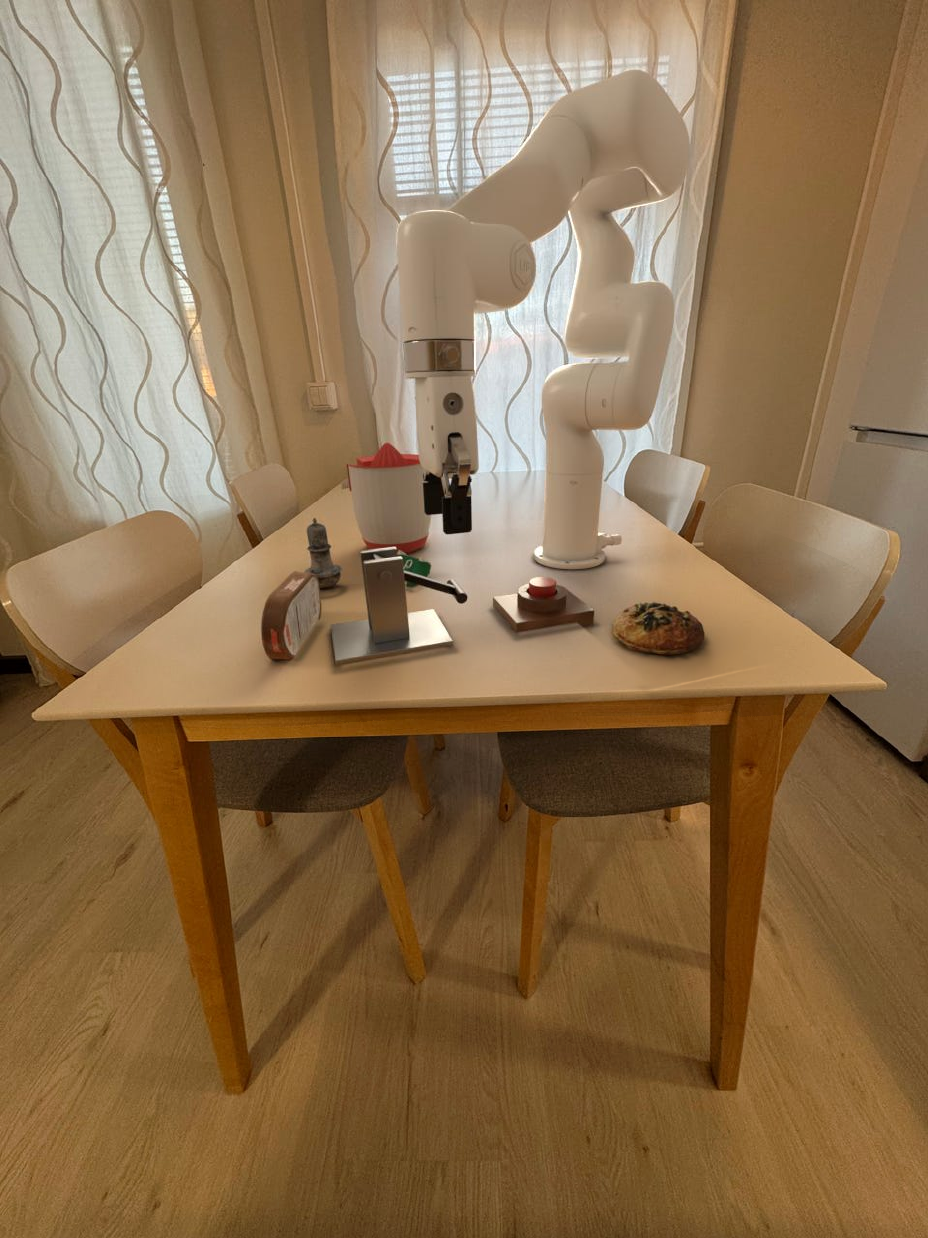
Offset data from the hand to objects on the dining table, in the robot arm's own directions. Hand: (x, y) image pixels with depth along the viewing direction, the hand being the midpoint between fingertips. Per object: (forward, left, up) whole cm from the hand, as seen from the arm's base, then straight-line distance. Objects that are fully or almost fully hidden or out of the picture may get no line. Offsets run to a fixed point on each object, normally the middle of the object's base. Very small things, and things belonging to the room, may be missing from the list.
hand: (446, 522), depth 60 cm
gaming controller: (+2, -21, -15) cm, 25 cm away
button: (-13, 0, -11) cm, 17 cm away
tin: (+19, -4, -15) cm, 25 cm away
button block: (-13, 0, -15) cm, 19 cm away
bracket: (+8, 0, -15) cm, 17 cm away
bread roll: (-24, +10, -15) cm, 30 cm away
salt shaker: (+15, -21, -15) cm, 30 cm away
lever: (+5, 0, -8) cm, 9 cm away
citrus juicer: (+1, -41, -15) cm, 43 cm away
